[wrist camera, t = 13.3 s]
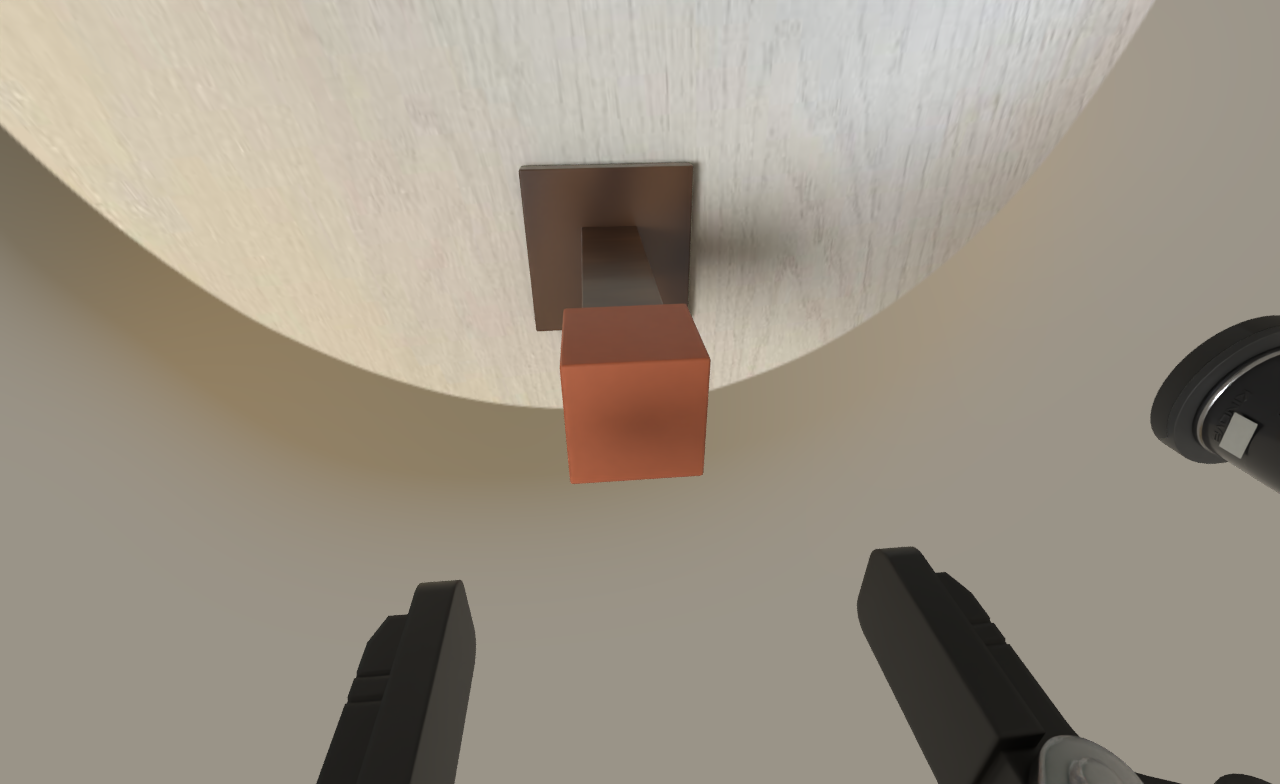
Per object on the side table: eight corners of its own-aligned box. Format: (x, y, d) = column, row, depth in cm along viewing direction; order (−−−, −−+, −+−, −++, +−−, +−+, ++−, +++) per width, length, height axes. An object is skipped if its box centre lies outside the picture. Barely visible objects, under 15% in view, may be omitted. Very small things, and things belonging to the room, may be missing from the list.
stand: (689, 161, 30) (762, 229, 18) (684, 317, 35) (739, 452, 23) (520, 165, 29) (479, 238, 17) (537, 323, 34) (514, 467, 22)
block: (686, 302, 19) (711, 358, 16) (682, 406, 21) (703, 476, 18) (563, 307, 19) (559, 366, 15) (571, 412, 21) (570, 485, 17)
